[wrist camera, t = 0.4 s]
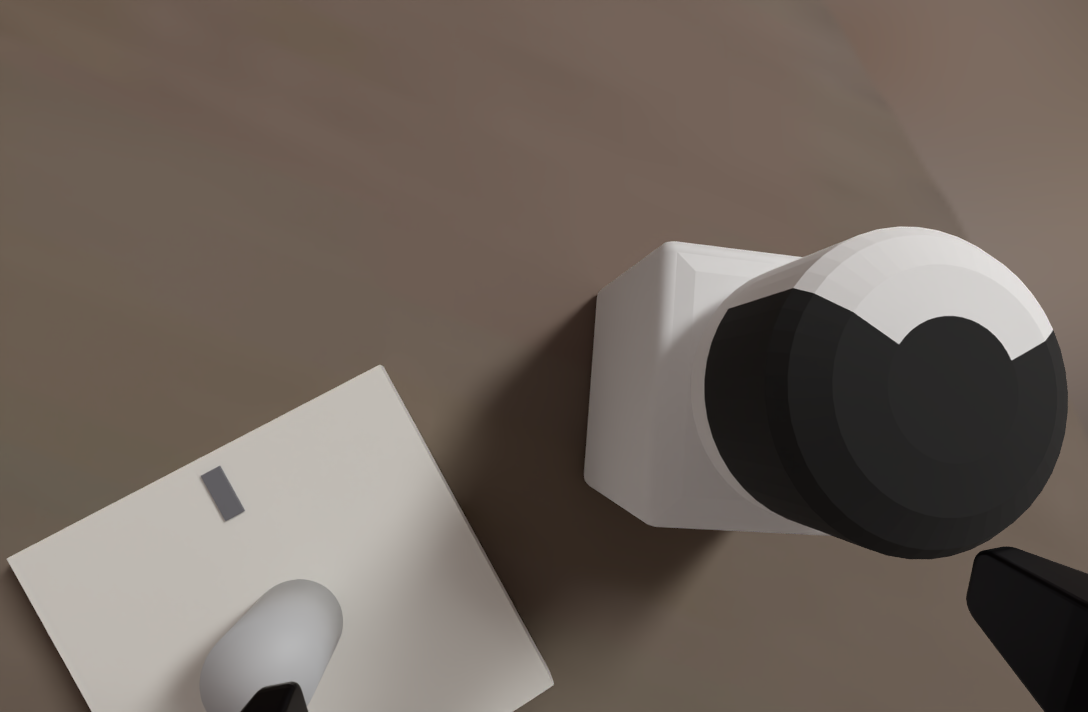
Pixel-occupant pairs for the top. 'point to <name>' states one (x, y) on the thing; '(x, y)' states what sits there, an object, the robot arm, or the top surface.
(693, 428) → the medicine bottle
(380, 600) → the post base
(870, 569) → the top surface
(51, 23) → the top surface
